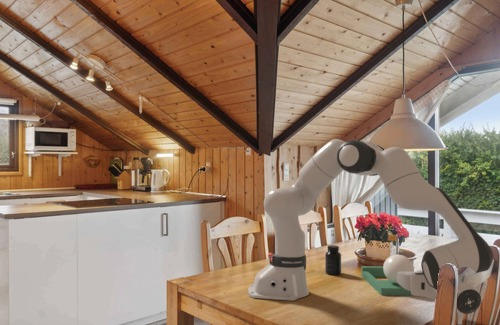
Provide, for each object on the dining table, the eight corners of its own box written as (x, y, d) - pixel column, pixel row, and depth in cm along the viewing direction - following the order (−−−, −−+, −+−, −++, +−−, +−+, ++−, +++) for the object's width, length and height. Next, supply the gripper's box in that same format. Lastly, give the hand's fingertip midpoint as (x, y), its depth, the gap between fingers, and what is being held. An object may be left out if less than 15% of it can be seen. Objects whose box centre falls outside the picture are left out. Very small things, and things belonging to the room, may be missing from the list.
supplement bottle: (331, 270, 183) (331, 243, 183) (344, 273, 178) (344, 246, 178) (322, 273, 178) (322, 246, 178) (335, 276, 174) (335, 248, 174)
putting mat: (381, 295, 150) (381, 246, 150) (361, 275, 176) (361, 233, 176) (427, 295, 150) (427, 246, 150) (400, 275, 176) (400, 234, 176)
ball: (388, 287, 150) (389, 258, 150) (379, 279, 161) (379, 251, 161) (418, 288, 150) (418, 258, 150) (406, 279, 161) (407, 251, 161)
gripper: (474, 274, 123) (451, 263, 136) (407, 274, 122) (390, 263, 136) (475, 295, 123) (451, 282, 136) (407, 295, 122) (391, 282, 136)
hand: (420, 272), depth 136 cm, fingers closed
